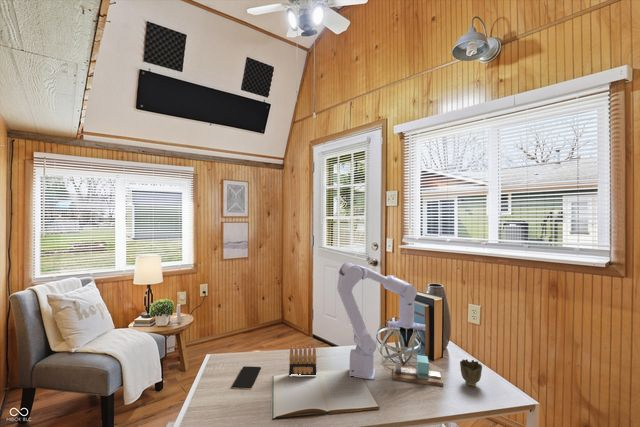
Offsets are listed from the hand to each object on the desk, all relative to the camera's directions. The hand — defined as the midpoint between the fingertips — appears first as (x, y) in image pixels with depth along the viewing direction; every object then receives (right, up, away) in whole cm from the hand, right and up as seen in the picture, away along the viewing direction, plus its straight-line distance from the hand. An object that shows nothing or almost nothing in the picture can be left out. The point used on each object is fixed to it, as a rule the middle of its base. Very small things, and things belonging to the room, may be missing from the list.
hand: (406, 346), depth 128 cm
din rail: (+3, -8, -6) cm, 10 cm away
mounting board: (+3, -9, -6) cm, 11 cm away
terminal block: (+5, -8, -7) cm, 11 cm away
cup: (+21, -10, -11) cm, 26 cm away
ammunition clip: (-42, -9, -6) cm, 43 cm away
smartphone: (-63, -10, -8) cm, 64 cm away
